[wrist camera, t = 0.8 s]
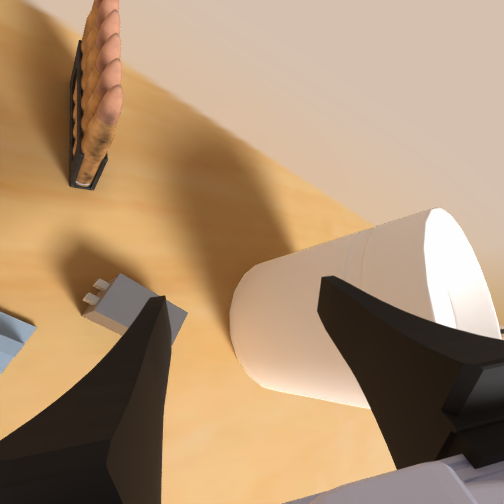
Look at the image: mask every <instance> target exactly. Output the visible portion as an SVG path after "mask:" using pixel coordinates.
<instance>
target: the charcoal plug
mask: <svg viewBox="0 0 504 504" xmlns="http://www.w3.org/2000/svg"><path fill="white" fill-rule="evenodd" d="M93 286H94V287H95V288H97V289H99V292H98V293H97V295H96V296H95V295H94V294H92V293H90V292H89V293H88V294H87V295H86V296H85V297H84V299H83V301H85V302H87V303H89V306H88V307H87V309H86V310H85V311H84V313H83V314H82V316H83V317H85V318H87V319H89V320H91V321H93V322H95V323H97V324H99V325H102V326H104V327H106V328H108V329H110V330H112V331H114V332H116V333H118V334H120V335H122V336H123V335H124V333H125V332H126V331H127V330H128V328H129V327H130V325H131V324H132V323H133V321H134V320H135V319H136V317H137V316H138V314H139V313H140V311H141V310H142V308H143V307H144V305H145V304H146V302H147V301H148V299H149V298H150V297H157V296H159V295H157V294H155V293H154V292H152V291H150V290H149V289H147V288H145V287H143V286H142V285H140V284H138V283H137V282H135V281H133V280H132V279H130V278H128V277H127V276H125V275H123V274H122V273H120V274H118V275H117V276H115V277H114V278H112V279H111V280H109V281H108V282H106V281H104V280H102V279H100V278H99V279H98V280H97V281H96V282H95V284H94V285H93ZM166 303H167V309H168V314H169V320H170V326H171V331H172V343H171V346H172V344H173V342H174V340H175V338H176V336H177V334H178V332H179V330H180V328H181V326H182V324H183V322H184V320H185V318H186V316H187V314H188V313H187V312H186V311H184V310H182V309H181V308H179V307H177V306H176V305H174V304H172V303H171V302H169V301H167V300H166Z"/></svg>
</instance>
